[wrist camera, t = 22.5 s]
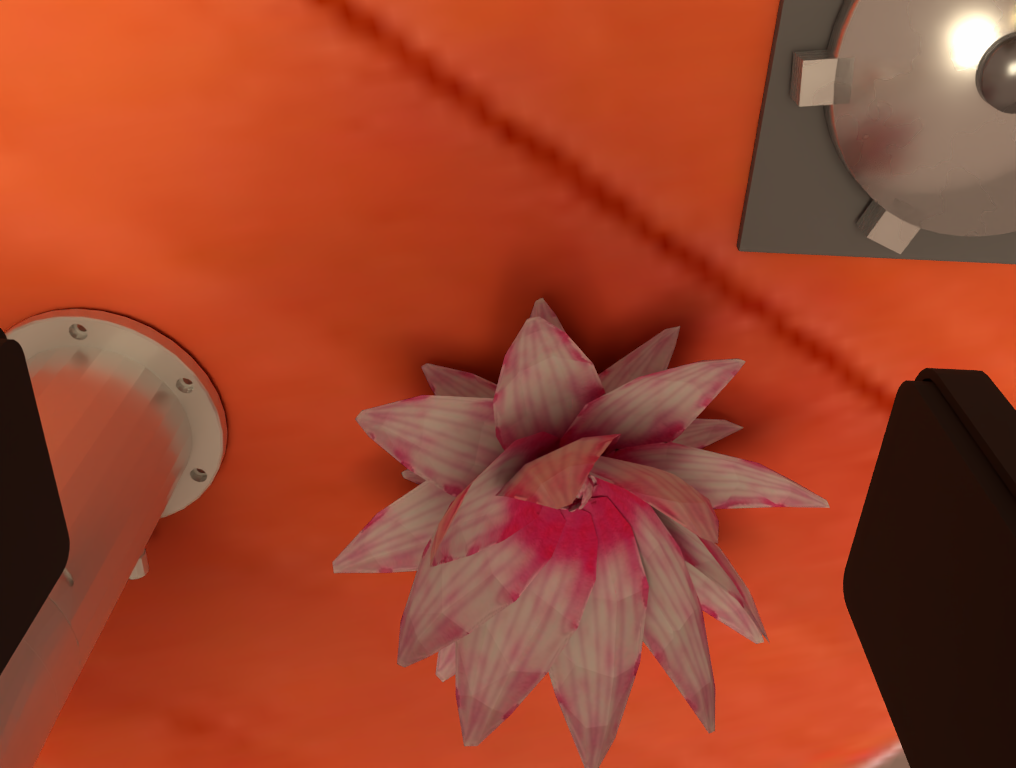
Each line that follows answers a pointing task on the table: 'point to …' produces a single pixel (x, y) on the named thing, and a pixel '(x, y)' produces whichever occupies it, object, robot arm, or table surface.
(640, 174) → the table surface
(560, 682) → the decorative flower
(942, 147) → the sprocket
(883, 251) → the sprocket base
